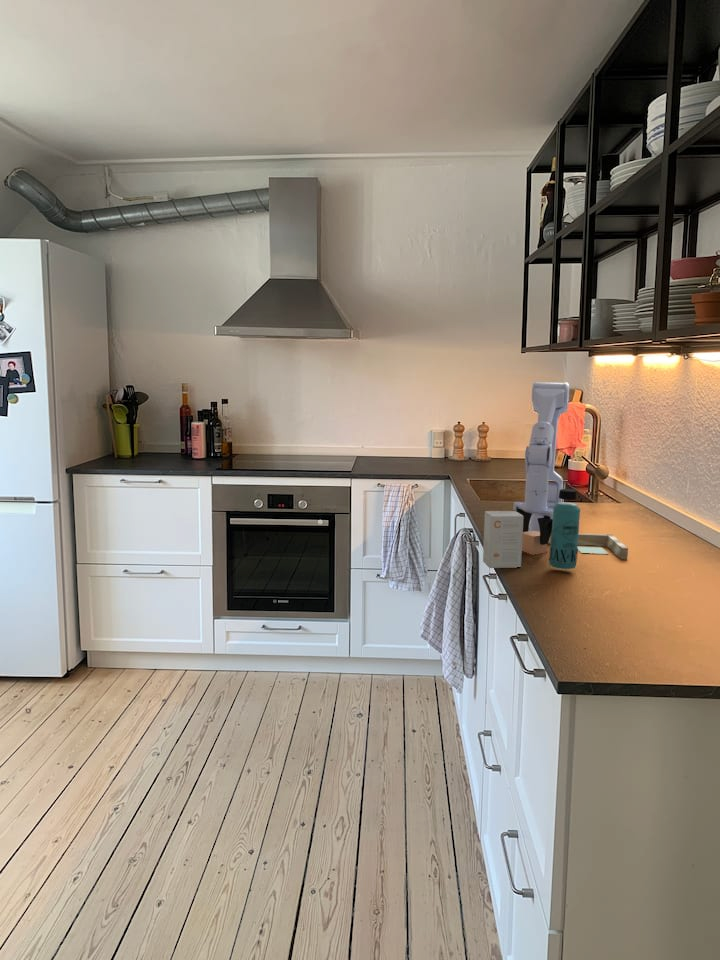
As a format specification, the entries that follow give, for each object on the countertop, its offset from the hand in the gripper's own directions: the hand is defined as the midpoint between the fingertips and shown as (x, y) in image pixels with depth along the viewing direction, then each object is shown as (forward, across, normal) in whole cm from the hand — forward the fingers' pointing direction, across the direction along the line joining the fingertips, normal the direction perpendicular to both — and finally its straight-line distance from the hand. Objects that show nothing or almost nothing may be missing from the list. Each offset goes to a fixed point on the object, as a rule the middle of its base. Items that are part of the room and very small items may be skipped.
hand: (533, 541), depth 190 cm
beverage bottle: (+3, +17, -7) cm, 19 cm away
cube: (+3, 0, 0) cm, 3 cm away
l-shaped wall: (+3, +6, +13) cm, 15 cm away
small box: (+3, +6, -16) cm, 17 cm away
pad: (+3, +7, +15) cm, 17 cm away
